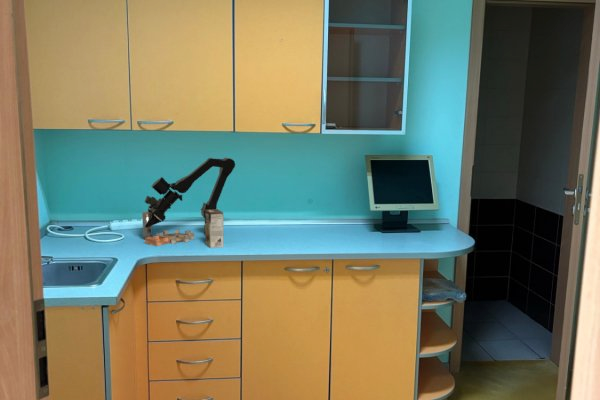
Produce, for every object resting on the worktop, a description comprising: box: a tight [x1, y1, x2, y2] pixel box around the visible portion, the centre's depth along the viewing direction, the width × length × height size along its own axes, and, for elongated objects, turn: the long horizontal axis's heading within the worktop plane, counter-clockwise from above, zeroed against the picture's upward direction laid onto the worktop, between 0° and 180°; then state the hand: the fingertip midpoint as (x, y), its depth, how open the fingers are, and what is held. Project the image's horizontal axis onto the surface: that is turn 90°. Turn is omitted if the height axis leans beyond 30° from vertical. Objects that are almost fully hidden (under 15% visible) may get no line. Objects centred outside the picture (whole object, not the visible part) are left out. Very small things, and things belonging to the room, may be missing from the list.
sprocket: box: [144, 229, 195, 247], centre depth 277 cm, size 23×17×3 cm
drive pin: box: [141, 211, 153, 241], centre depth 278 cm, size 4×4×13 cm
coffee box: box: [204, 208, 224, 249], centre depth 266 cm, size 9×6×16 cm
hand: (144, 225), depth 278 cm, fingers open, 9 cm apart
